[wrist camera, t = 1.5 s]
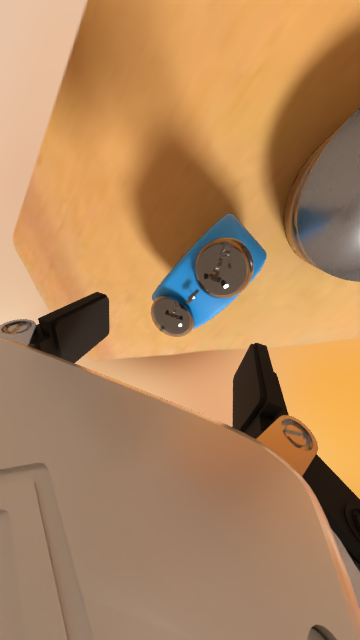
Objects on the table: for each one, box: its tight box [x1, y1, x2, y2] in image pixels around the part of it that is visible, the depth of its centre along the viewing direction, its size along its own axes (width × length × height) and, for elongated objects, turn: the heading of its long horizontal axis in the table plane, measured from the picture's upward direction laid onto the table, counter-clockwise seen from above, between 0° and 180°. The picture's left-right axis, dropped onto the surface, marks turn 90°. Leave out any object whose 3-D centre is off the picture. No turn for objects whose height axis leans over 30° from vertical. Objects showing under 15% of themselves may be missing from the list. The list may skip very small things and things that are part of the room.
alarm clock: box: [151, 213, 266, 337], centre depth 21 cm, size 13×6×15 cm, turn 139°
